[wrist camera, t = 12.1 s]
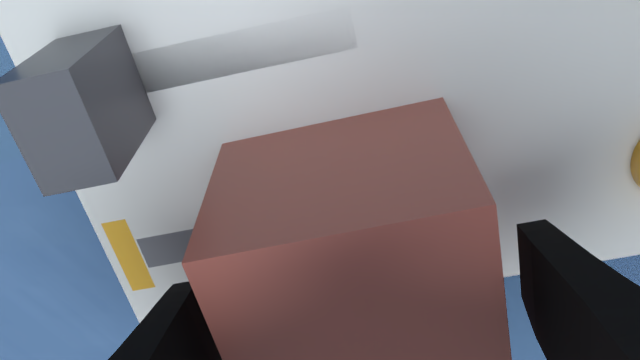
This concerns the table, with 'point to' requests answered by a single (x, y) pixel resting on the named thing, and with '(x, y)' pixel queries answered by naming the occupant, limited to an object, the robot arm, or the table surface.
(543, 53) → the breaker panel
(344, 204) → the reddish pink block
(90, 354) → the table surface
